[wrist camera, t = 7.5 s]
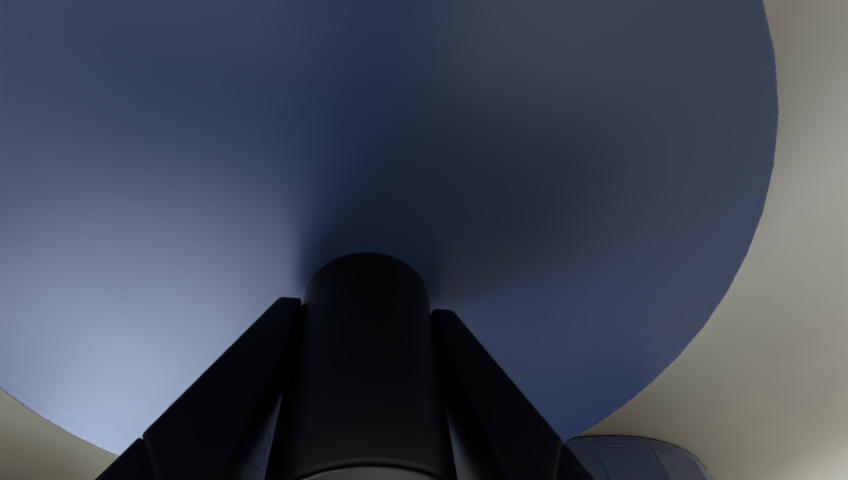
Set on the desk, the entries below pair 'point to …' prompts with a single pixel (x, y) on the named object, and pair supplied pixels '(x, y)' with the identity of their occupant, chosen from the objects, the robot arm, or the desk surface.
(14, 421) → the desk surface
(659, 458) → the pot
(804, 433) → the desk surface
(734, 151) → the pot lid
